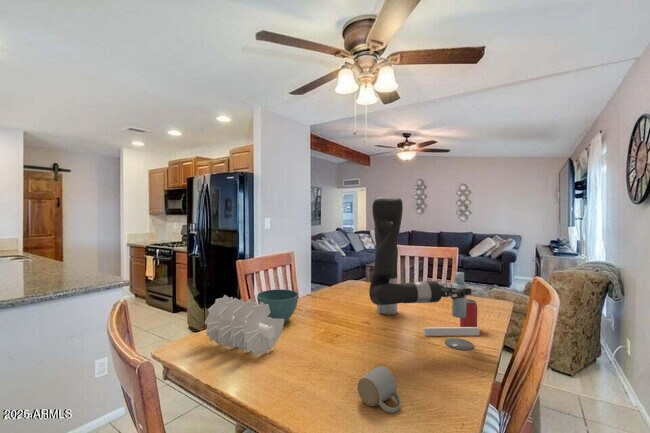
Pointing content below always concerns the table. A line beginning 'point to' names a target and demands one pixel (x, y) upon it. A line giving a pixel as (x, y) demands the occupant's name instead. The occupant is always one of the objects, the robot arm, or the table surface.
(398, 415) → the table surface
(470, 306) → the beer can
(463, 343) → the coaster
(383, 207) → the robot arm
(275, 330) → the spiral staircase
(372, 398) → the ceramic mug
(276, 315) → the dark green bowl
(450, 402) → the table surface
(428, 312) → the table surface
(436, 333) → the wall
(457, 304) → the grey bottle
